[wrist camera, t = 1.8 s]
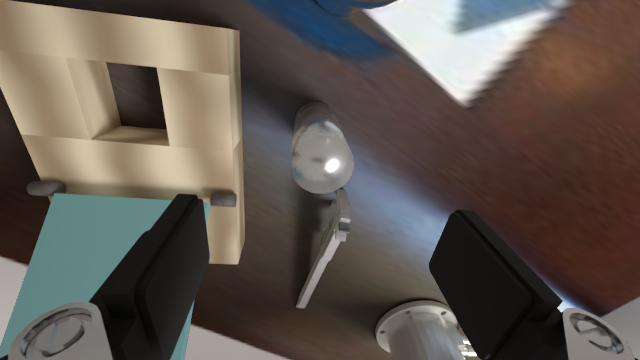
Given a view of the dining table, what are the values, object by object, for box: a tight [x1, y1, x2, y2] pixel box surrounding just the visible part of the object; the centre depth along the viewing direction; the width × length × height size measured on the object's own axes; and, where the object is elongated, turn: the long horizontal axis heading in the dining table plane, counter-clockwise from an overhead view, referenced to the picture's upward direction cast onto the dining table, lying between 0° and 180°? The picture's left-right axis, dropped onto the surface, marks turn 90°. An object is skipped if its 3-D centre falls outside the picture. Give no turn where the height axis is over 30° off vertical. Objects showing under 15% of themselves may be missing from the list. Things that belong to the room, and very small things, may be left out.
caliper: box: [296, 189, 351, 308], centre depth 31 cm, size 20×1×6 cm, turn 165°
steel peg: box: [290, 102, 354, 194], centre depth 21 cm, size 4×4×10 cm
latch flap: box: [0, 193, 210, 360], centre depth 21 cm, size 12×12×1 cm
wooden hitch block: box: [0, 0, 245, 264], centre depth 23 cm, size 16×22×5 cm
